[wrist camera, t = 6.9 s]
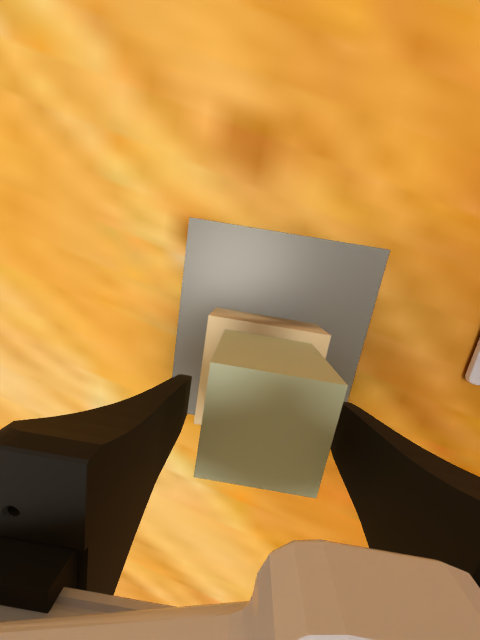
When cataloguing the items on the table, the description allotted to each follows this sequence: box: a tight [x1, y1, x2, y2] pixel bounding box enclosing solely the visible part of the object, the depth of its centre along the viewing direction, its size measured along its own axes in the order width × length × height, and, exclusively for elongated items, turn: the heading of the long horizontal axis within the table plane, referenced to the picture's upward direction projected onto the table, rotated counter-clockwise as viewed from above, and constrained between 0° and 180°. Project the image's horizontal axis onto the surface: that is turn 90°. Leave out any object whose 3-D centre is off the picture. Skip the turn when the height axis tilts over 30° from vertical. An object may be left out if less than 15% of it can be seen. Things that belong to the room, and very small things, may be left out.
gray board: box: [172, 218, 390, 415], centre depth 17 cm, size 13×14×1 cm
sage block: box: [194, 329, 348, 498], centre depth 11 cm, size 5×5×5 cm
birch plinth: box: [194, 307, 331, 425], centre depth 15 cm, size 7×7×3 cm
